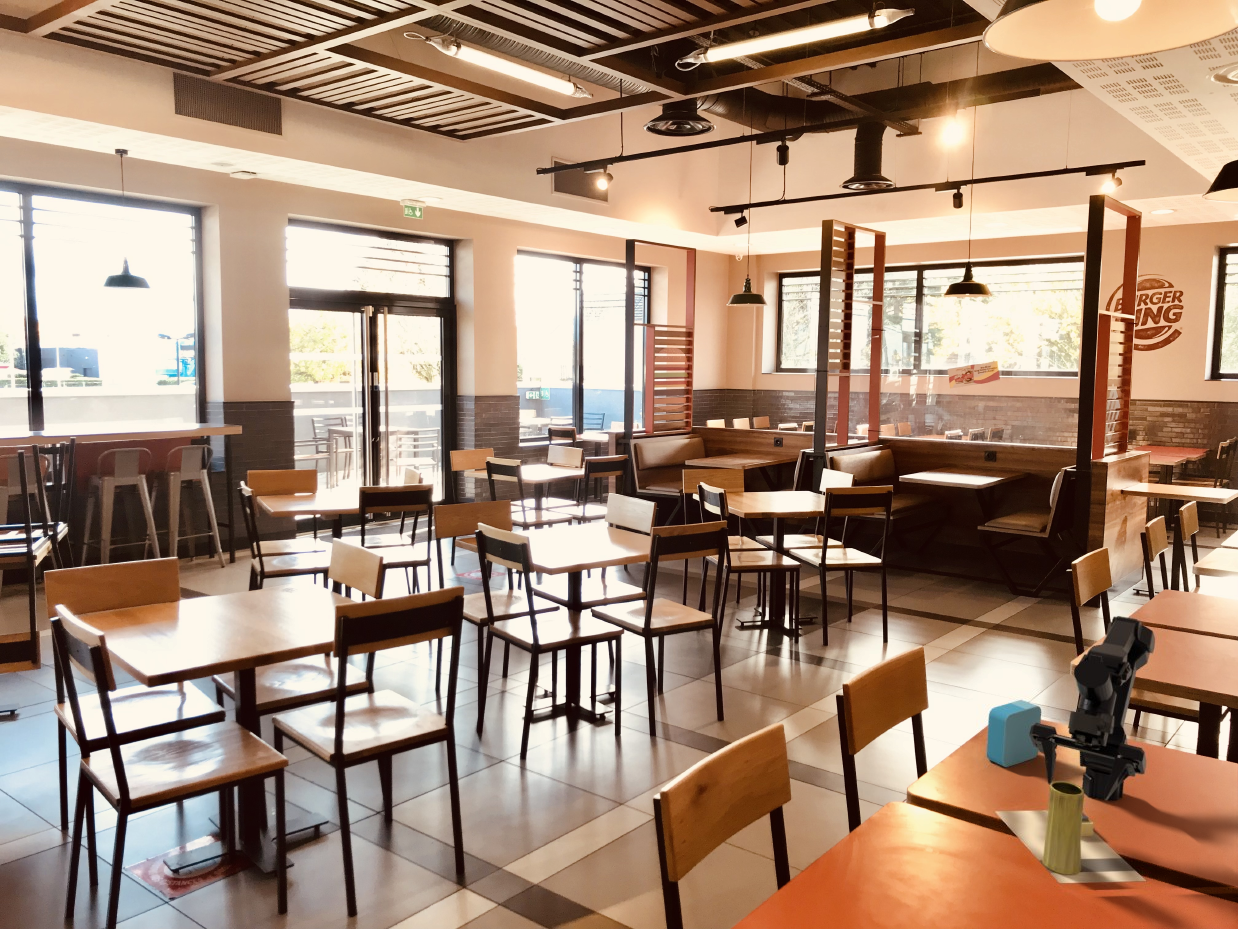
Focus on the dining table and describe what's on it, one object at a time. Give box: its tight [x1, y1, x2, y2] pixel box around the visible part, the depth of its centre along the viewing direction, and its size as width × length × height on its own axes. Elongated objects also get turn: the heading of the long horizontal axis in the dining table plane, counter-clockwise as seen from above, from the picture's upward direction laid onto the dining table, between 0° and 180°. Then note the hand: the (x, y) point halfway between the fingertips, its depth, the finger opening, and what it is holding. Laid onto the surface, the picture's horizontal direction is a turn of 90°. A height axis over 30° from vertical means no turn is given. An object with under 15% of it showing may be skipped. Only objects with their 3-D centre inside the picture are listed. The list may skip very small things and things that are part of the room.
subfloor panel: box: [995, 809, 1147, 884], centre depth 168 cm, size 15×24×1 cm, turn 3°
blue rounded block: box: [986, 699, 1042, 768], centre depth 203 cm, size 12×4×12 cm, turn 120°
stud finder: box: [1081, 812, 1094, 836], centre depth 174 cm, size 7×4×3 cm, turn 3°
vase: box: [1042, 780, 1085, 875], centre depth 160 cm, size 6×6×14 cm
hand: (1076, 791), depth 166 cm, fingers open, 9 cm apart
